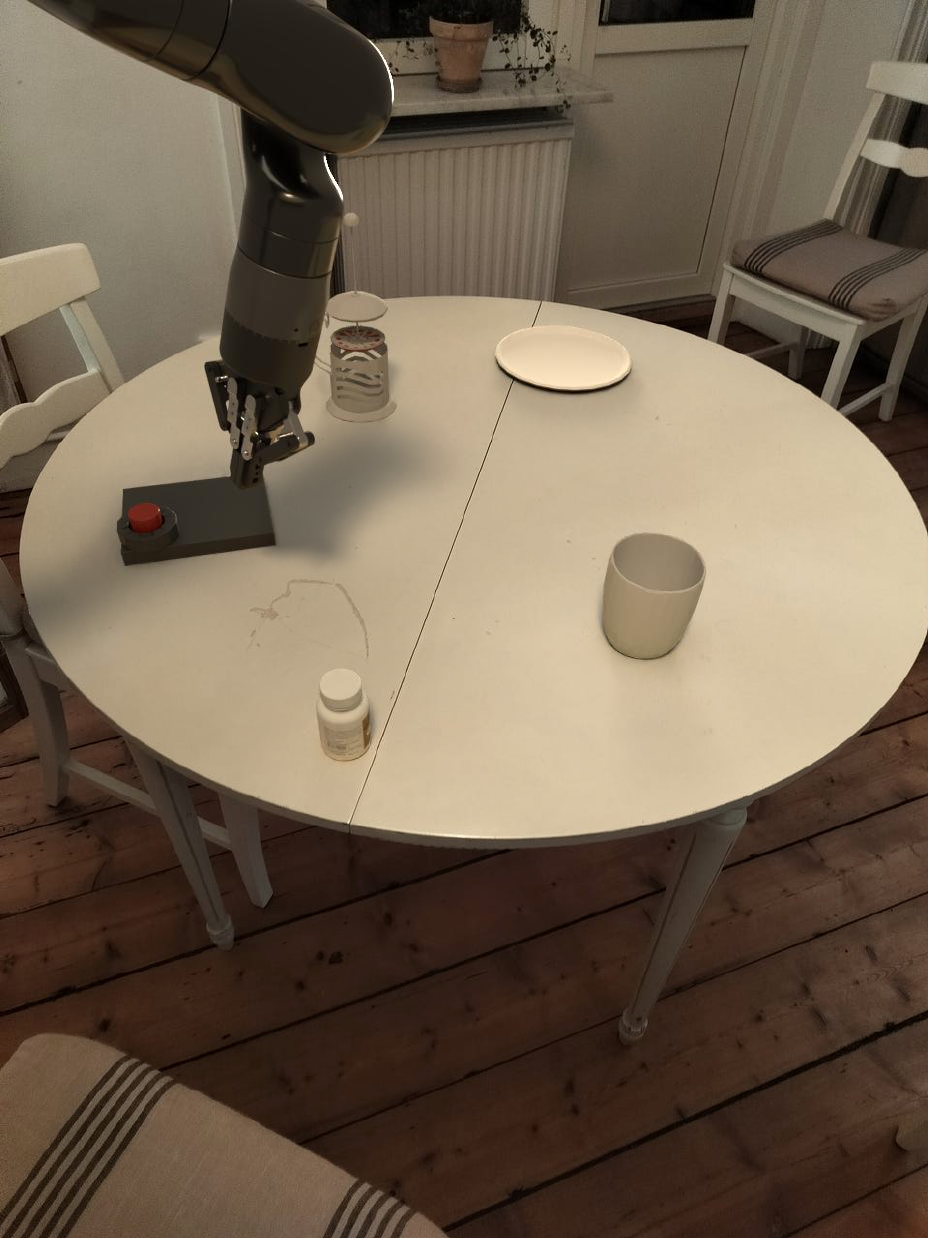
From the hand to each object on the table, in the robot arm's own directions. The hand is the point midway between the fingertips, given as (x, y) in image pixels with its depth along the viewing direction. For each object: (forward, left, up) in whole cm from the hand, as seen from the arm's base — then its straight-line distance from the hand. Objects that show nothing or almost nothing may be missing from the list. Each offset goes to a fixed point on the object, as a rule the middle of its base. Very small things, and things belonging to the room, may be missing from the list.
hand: (244, 483), depth 76 cm
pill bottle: (+5, -21, -14) cm, 26 cm away
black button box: (-6, +14, -14) cm, 21 cm away
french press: (+16, +37, -14) cm, 43 cm away
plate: (+49, +43, -14) cm, 67 cm away
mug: (+36, -13, -14) cm, 41 cm away
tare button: (-11, +11, -11) cm, 19 cm away
